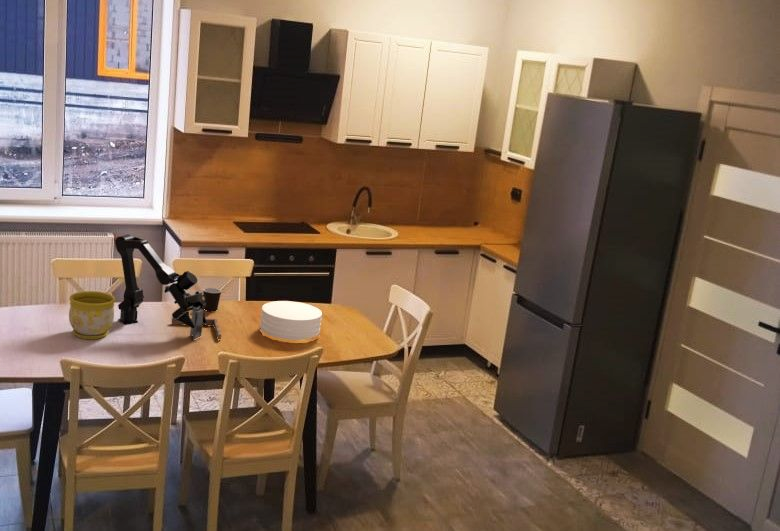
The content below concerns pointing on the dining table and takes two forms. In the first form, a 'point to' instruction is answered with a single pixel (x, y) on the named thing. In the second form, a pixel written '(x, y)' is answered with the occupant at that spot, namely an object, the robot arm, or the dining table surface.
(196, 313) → the bracket
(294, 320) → the plate stack
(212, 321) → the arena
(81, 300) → the flowerpot
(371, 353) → the dining table surface
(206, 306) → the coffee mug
